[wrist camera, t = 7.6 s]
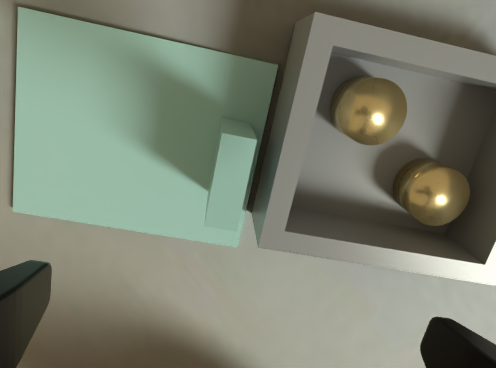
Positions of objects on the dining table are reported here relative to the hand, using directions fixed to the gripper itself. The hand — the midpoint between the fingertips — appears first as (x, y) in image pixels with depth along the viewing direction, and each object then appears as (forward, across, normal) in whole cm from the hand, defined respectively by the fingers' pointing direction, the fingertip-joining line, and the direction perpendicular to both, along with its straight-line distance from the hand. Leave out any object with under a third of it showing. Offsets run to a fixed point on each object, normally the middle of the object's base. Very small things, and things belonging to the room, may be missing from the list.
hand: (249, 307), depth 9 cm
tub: (+12, -7, -3) cm, 14 cm away
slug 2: (+11, -10, -1) cm, 15 cm away
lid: (+12, +5, -1) cm, 13 cm away
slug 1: (+11, -5, -4) cm, 13 cm away
